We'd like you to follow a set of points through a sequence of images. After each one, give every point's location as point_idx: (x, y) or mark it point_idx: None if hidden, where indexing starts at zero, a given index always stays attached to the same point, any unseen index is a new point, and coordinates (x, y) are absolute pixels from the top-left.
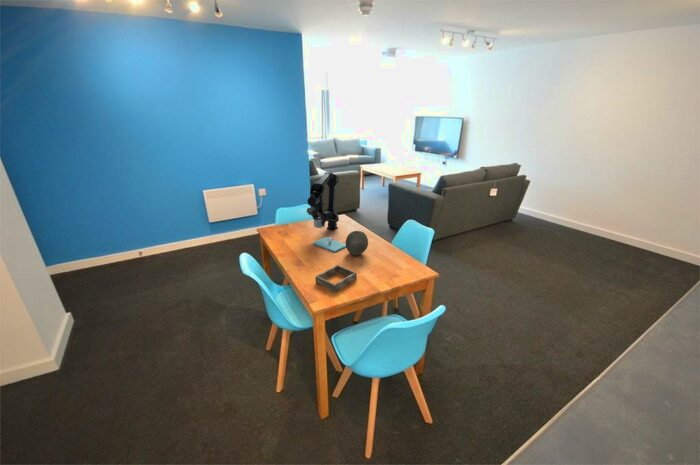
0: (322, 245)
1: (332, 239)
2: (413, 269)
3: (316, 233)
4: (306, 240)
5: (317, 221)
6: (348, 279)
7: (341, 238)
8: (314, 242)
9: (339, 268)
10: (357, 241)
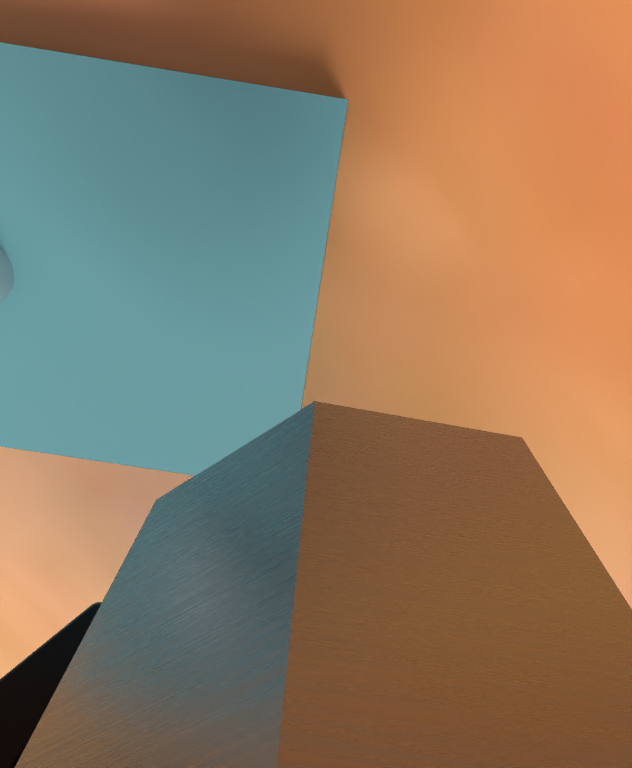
0: (25, 78)
1: (99, 460)
2: None
3: None
4: (606, 195)
5: (219, 733)
6: None
7: (78, 593)
8: (308, 119)
9: None
10: None
